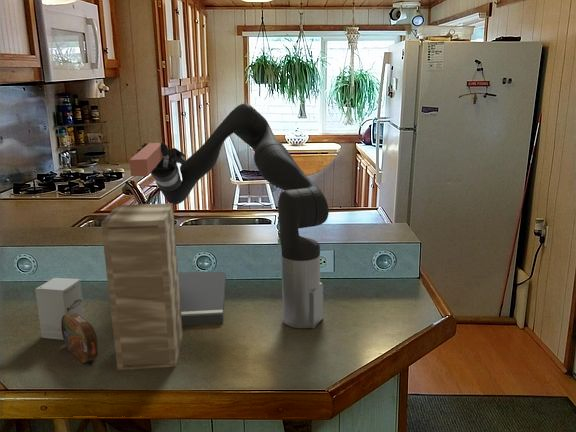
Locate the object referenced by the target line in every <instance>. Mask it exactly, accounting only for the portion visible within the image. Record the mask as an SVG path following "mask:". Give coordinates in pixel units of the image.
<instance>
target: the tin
mask: <svg viewBox="0 0 576 432" xmlns="http://www.w3.org/2000/svg"><path fill="white" fill-rule="evenodd" d="M61 329H62V335H63V339H64V340H63V343H64V345H65V347H66V348H67V350H68V351H69V352H70V353H71V354H72V355H73V356H74V357H76V359H77V360H78V361H79V362H81V363H83V364H85V363H87V362H90V361H93V360H96V358H97V357H98V354H99V352H98V336H97V333H96V330H95V329H94V326H92V324H91V323H90V322H89V321H88V320H86V318H85V319H84V318H82V317H81V316H80V315H79V314H77V313H72V314H68V315H63V317H62V320H61Z"/></svg>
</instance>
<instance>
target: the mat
mask: <svg viewBox="0 0 576 432" xmlns="http://www.w3.org/2000/svg"><path fill="white" fill-rule="evenodd" d="M226 274H227V273H226ZM226 274H225V272H201V271H185V272H178V278H179V291H180V305H181V318H182V326H195V325H199V326H200V325H215V324H218V325H219V324H224V314H225V297H226V283H227V282H226V281H227V280H226V279H227V275H226Z"/></svg>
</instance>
